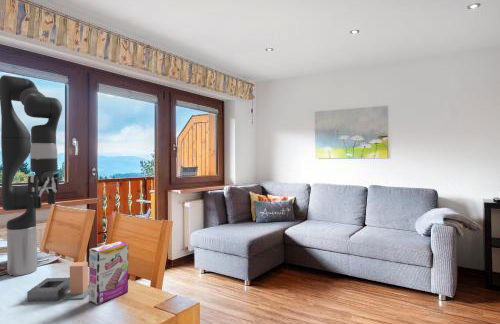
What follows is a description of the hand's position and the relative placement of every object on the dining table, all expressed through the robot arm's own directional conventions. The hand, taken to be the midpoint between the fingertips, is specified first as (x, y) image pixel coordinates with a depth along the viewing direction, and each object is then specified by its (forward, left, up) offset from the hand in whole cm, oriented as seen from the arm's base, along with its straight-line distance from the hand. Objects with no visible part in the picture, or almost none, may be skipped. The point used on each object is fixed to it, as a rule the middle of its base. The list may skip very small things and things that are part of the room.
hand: (44, 206), depth 107 cm
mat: (+3, +13, -28) cm, 31 cm away
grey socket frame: (+3, +4, -28) cm, 28 cm away
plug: (+3, +12, -28) cm, 30 cm away
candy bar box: (+7, +23, -28) cm, 37 cm away
